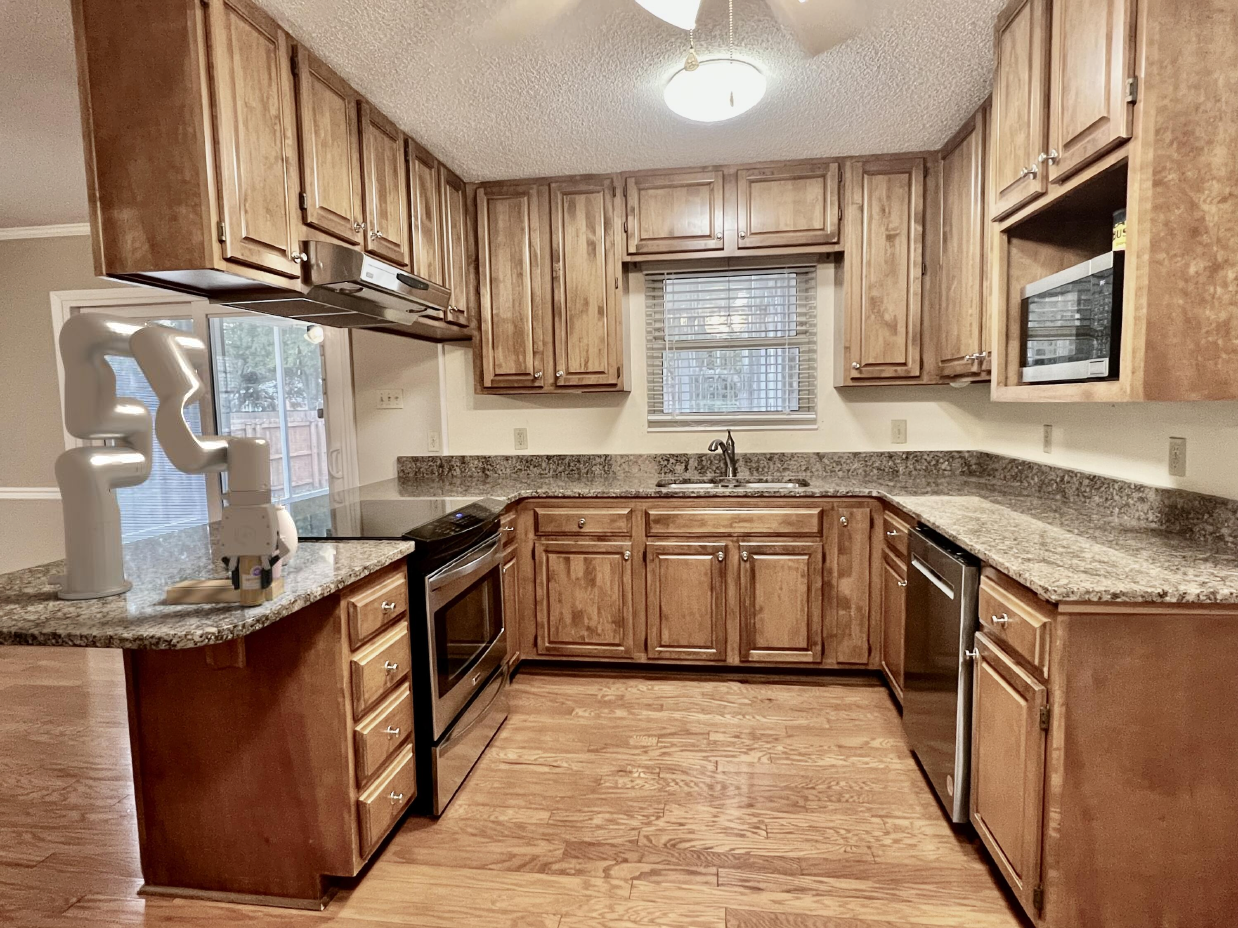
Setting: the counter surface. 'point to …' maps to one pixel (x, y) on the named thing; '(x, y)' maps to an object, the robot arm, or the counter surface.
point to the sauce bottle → (287, 531)
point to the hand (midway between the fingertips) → (252, 587)
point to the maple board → (215, 591)
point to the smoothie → (277, 567)
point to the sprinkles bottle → (251, 580)
